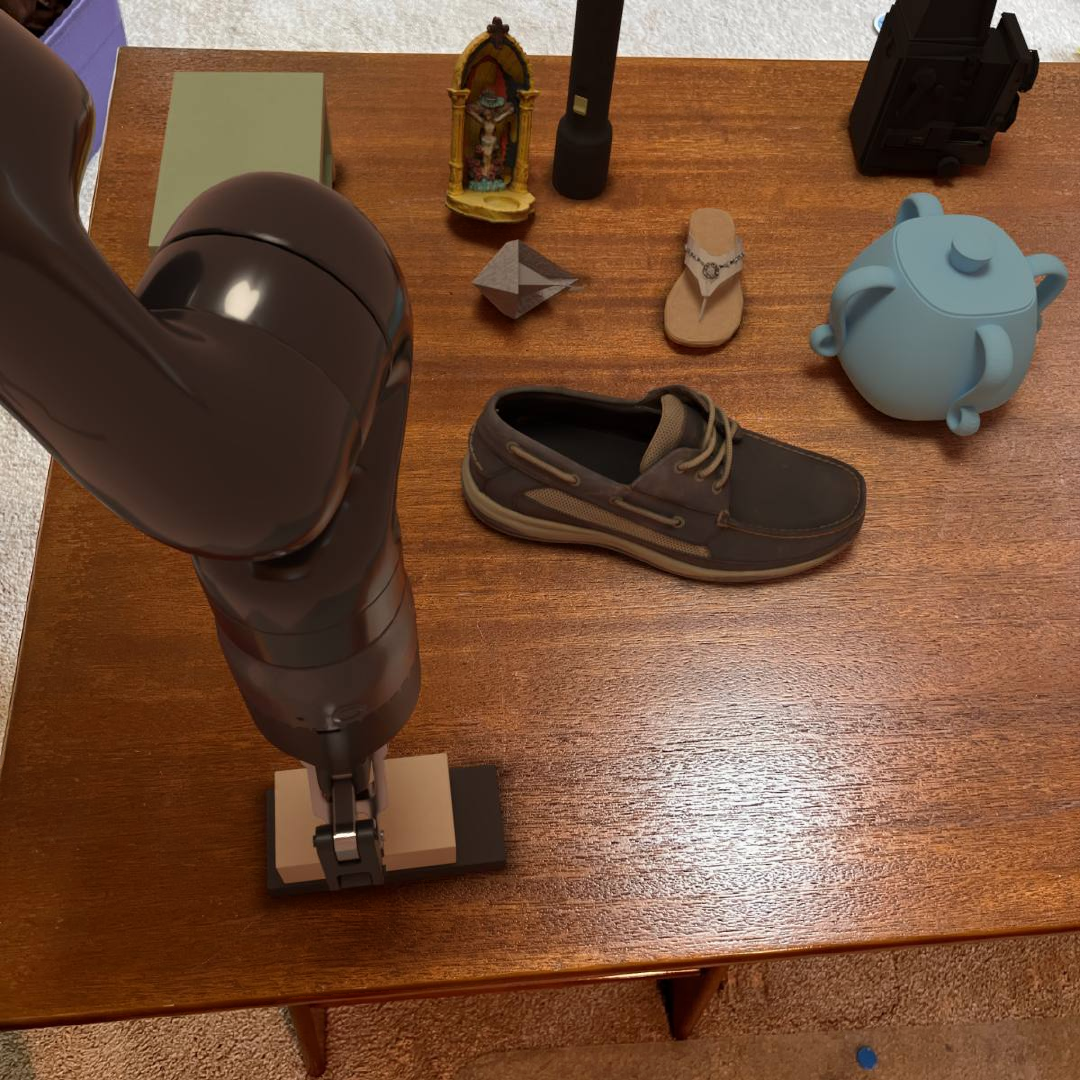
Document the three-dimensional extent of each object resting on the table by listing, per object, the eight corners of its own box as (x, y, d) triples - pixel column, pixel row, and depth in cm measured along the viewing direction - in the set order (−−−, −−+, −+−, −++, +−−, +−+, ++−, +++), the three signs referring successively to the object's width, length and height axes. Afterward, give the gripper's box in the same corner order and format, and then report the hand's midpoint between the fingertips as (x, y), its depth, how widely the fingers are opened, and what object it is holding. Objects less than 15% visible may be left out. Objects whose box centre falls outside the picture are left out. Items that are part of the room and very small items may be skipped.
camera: (997, 191, 102) (1106, -13, 85) (856, 183, 101) (937, -24, 84) (975, 122, 107) (1073, -83, 90) (840, 114, 106) (914, -94, 89)
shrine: (444, 163, 99) (441, 9, 86) (532, 164, 100) (543, 11, 87) (445, 252, 93) (443, 101, 80) (539, 252, 94) (552, 102, 81)
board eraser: (271, 897, 64) (257, 873, 59) (270, 799, 67) (256, 769, 62) (505, 869, 66) (509, 843, 61) (494, 774, 69) (496, 743, 64)
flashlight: (566, 156, 100) (542, 187, 98) (594, -112, 80) (564, -81, 78) (615, 175, 100) (591, 207, 97) (656, -91, 79) (627, -59, 77)
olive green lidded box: (331, 337, 87) (317, 244, 79) (178, 340, 86) (147, 245, 77) (335, 170, 97) (323, 72, 89) (199, 171, 96) (174, 71, 88)
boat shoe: (858, 598, 77) (911, 518, 68) (451, 563, 77) (450, 477, 68) (845, 475, 83) (892, 385, 74) (466, 441, 83) (467, 346, 73)
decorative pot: (772, 362, 89) (819, 237, 77) (879, 265, 95) (937, 136, 84) (940, 479, 84) (1017, 363, 72) (1041, 367, 90) (1126, 245, 79)
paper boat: (514, 229, 93) (614, 239, 90) (511, 304, 96) (608, 317, 92) (446, 242, 83) (556, 254, 80) (445, 325, 85) (551, 341, 82)
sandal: (661, 353, 88) (671, 310, 84) (665, 221, 97) (674, 176, 92) (742, 362, 89) (756, 319, 84) (738, 229, 97) (751, 184, 92)
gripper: (228, 497, 46) (283, 659, 60) (225, 823, 39) (288, 922, 53) (404, 483, 47) (418, 646, 61) (432, 798, 40) (441, 902, 54)
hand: (358, 774), depth 57 cm, fingers open, 8 cm apart
